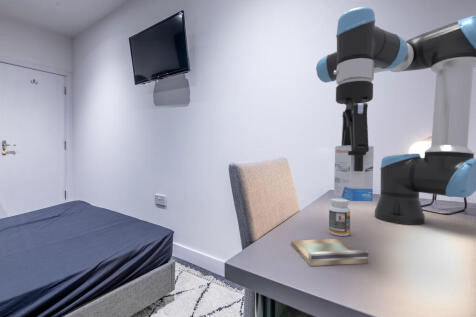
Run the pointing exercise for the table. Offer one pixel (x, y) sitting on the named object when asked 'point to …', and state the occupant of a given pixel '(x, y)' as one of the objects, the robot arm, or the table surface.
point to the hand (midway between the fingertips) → (352, 184)
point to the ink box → (343, 175)
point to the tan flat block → (329, 252)
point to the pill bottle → (339, 217)
